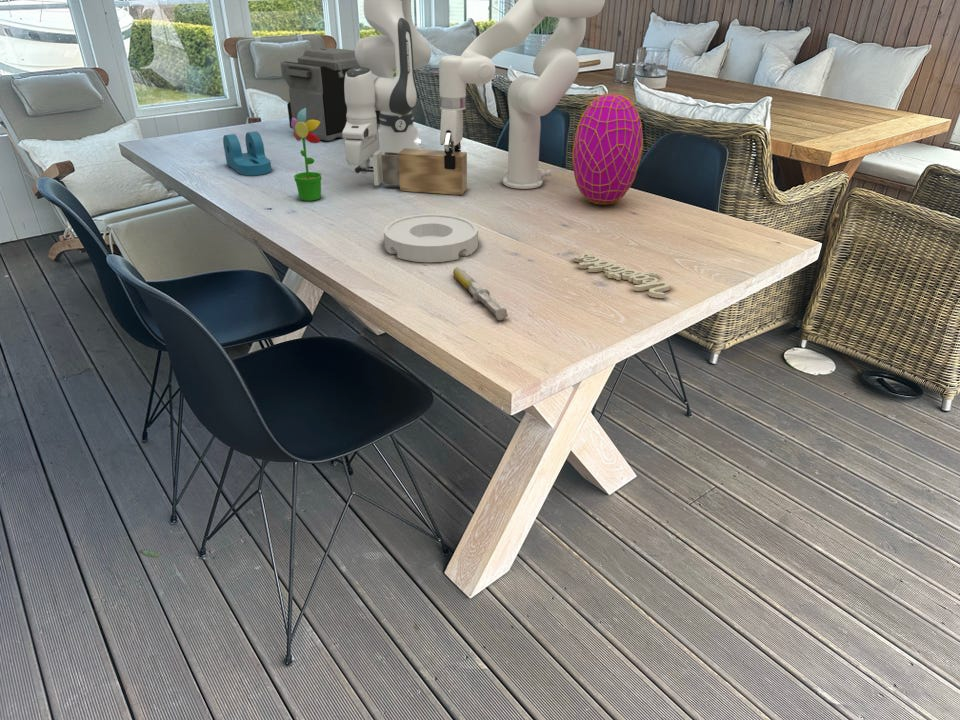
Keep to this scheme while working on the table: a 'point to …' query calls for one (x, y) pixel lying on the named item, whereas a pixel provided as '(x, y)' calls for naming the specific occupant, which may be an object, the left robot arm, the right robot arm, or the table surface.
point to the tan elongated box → (431, 172)
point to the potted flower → (307, 180)
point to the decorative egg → (607, 148)
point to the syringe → (479, 293)
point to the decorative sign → (625, 274)
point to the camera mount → (246, 154)
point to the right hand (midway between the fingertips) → (452, 165)
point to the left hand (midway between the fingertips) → (365, 172)
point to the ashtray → (431, 237)
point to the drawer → (384, 168)
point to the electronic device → (320, 89)
